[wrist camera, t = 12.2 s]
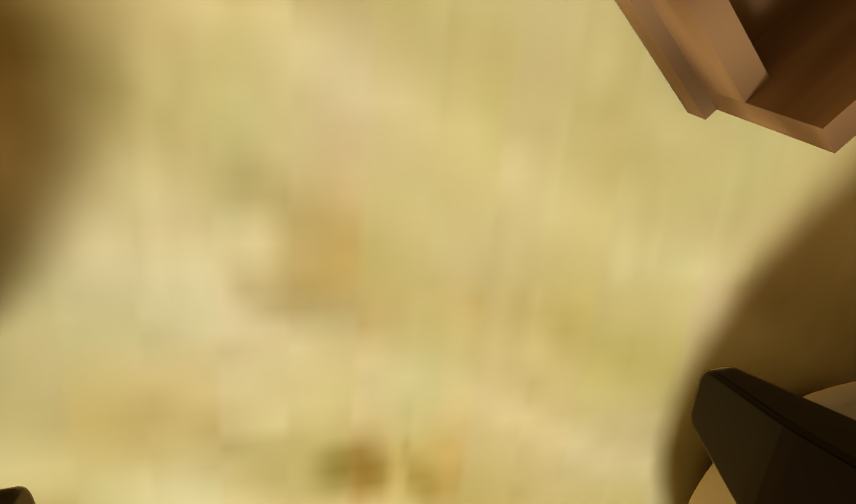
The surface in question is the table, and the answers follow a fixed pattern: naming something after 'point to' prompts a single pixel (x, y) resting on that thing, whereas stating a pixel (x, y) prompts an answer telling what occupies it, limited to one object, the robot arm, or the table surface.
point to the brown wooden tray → (758, 61)
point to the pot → (848, 399)
